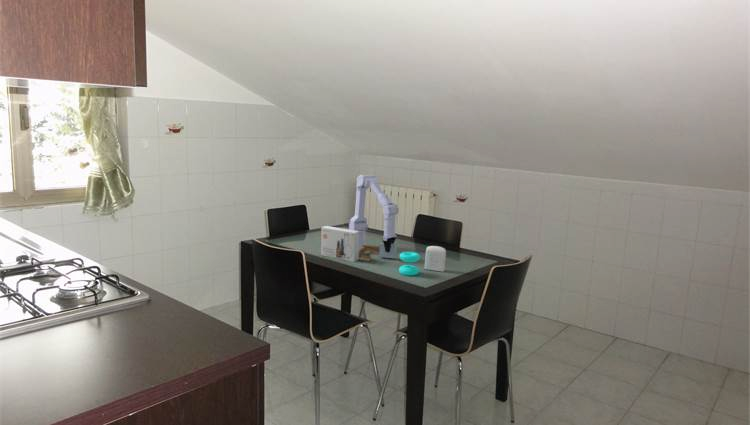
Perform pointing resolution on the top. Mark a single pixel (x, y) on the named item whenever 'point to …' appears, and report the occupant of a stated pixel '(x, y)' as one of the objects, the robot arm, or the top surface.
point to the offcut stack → (365, 256)
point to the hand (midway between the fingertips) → (388, 251)
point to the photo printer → (435, 258)
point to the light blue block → (388, 254)
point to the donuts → (409, 269)
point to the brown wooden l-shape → (369, 249)
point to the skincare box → (340, 243)
